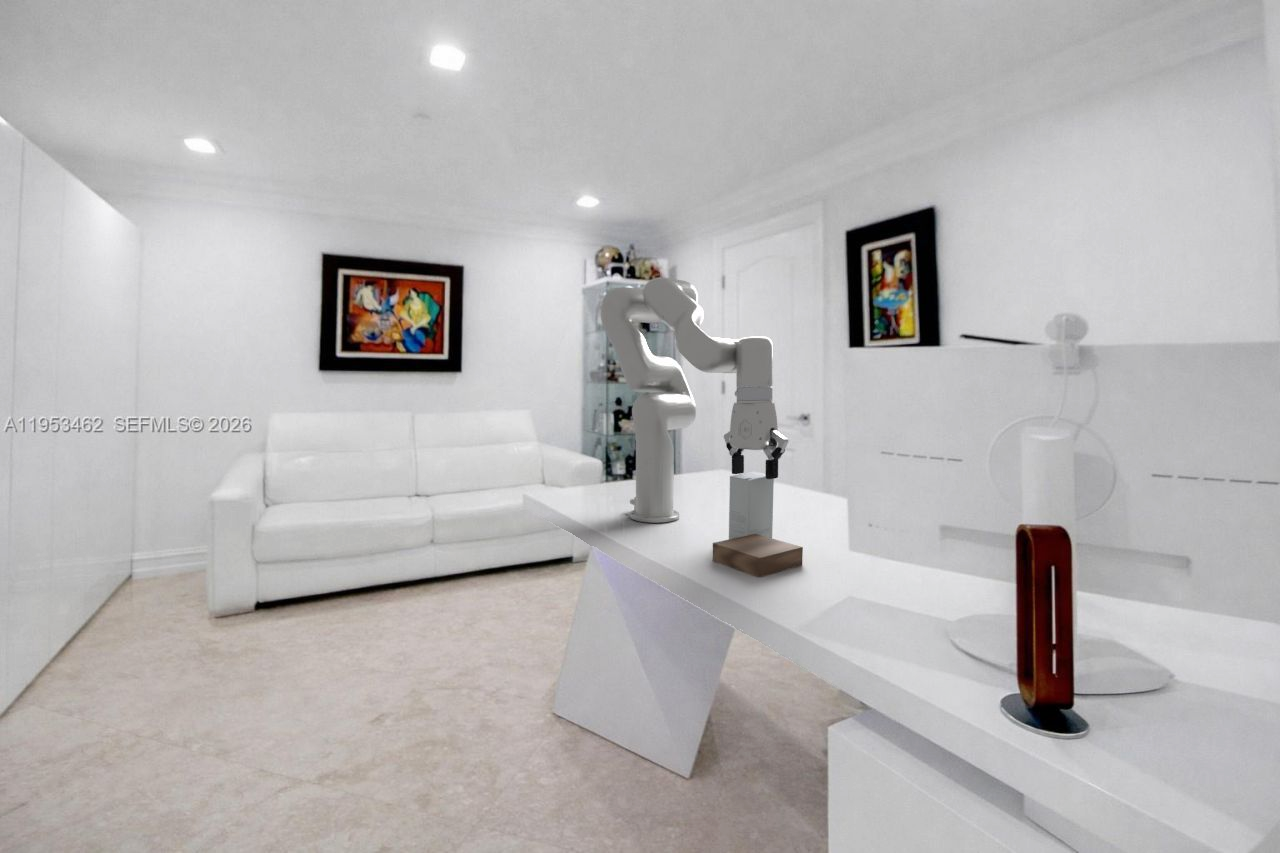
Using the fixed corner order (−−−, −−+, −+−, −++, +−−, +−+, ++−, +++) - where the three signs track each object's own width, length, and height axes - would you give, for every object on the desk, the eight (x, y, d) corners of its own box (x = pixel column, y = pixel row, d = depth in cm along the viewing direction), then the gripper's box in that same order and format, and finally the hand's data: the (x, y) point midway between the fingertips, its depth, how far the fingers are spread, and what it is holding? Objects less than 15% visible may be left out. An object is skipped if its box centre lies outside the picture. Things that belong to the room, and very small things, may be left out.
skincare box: (752, 536, 136) (753, 470, 134) (773, 541, 131) (775, 474, 130) (726, 542, 130) (728, 474, 129) (748, 548, 126) (749, 478, 124)
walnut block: (712, 560, 117) (712, 542, 117) (755, 550, 124) (755, 533, 124) (759, 577, 108) (759, 557, 107) (802, 565, 115) (802, 547, 114)
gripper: (713, 396, 133) (713, 473, 134) (774, 396, 119) (773, 482, 120) (737, 395, 137) (737, 470, 138) (798, 395, 123) (798, 478, 124)
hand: (754, 475), depth 129 cm, fingers open, 9 cm apart
